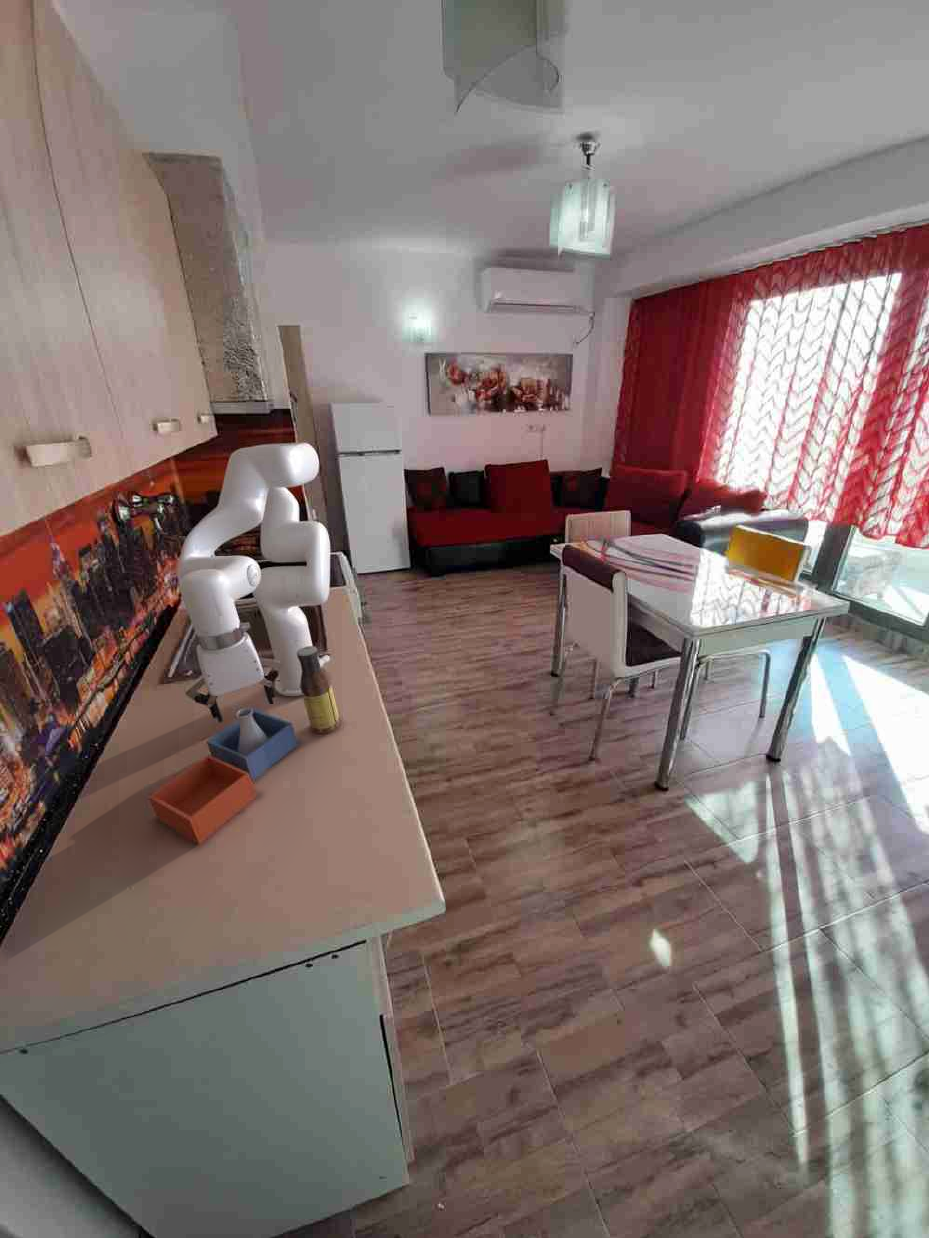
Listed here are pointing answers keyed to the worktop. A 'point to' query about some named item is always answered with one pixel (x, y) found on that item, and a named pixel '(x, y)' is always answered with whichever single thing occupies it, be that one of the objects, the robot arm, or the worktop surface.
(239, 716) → the flask
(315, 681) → the sauce bottle
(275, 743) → the blue bin
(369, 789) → the worktop surface
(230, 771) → the terracotta bin
